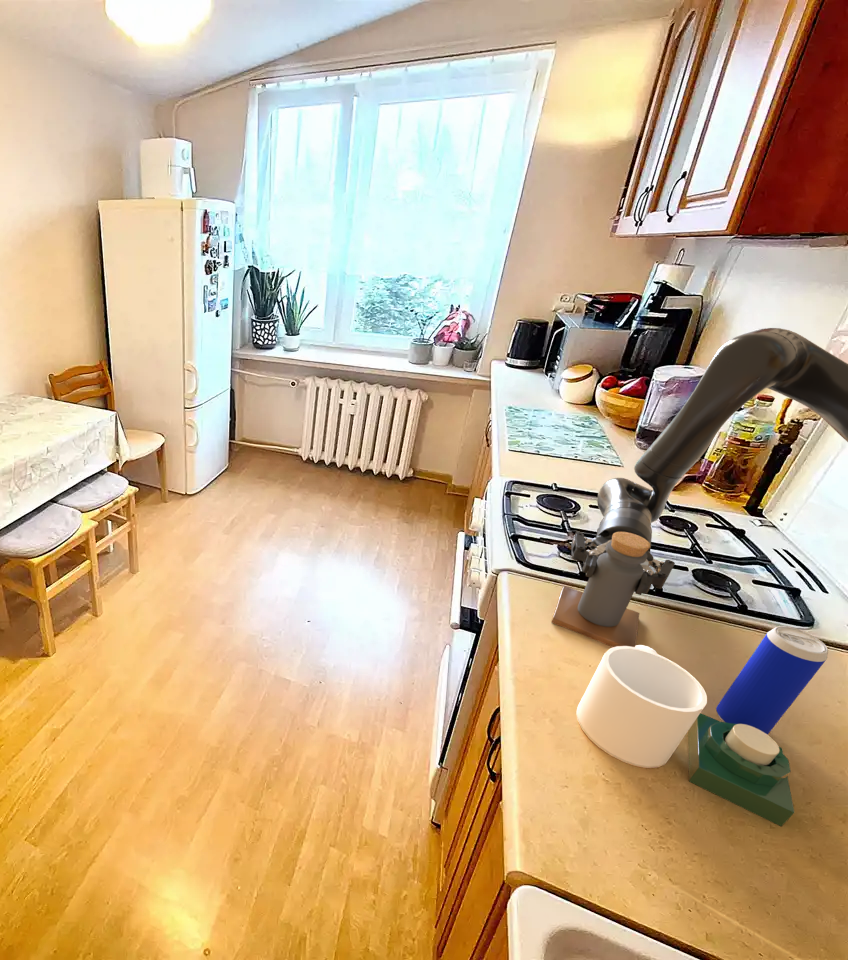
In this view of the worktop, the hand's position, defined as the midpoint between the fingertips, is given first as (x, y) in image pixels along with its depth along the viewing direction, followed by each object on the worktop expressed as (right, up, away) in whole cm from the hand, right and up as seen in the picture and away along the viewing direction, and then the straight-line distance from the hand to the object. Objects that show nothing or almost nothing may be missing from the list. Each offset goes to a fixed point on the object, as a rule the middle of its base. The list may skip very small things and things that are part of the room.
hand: (615, 580), depth 80 cm
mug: (-9, -17, -12) cm, 22 cm away
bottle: (+1, -7, +6) cm, 9 cm away
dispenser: (0, -20, -17) cm, 26 cm away
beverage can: (+8, -17, -11) cm, 22 cm away
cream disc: (0, -16, -19) cm, 25 cm away
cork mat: (+1, -8, +6) cm, 10 cm away
